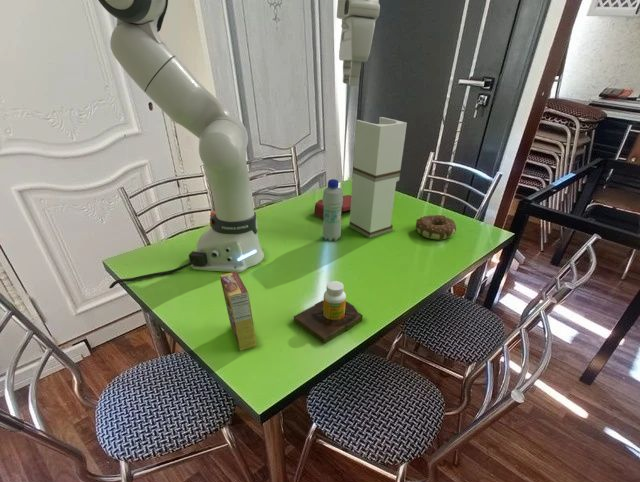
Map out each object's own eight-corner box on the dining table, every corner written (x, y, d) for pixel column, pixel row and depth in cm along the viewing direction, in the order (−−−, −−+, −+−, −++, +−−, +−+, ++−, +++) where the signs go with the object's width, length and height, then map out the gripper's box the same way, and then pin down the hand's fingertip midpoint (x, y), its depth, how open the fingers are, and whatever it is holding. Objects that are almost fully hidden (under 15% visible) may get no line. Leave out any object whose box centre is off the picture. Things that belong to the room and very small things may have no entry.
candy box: (229, 328, 88) (219, 274, 78) (247, 324, 89) (238, 270, 80) (238, 352, 81) (228, 295, 72) (257, 346, 83) (249, 291, 73)
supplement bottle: (328, 327, 88) (329, 293, 82) (319, 314, 92) (320, 282, 86) (348, 321, 90) (350, 288, 84) (338, 309, 94) (340, 277, 88)
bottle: (339, 243, 124) (342, 183, 111) (320, 241, 125) (320, 182, 112) (342, 235, 129) (345, 177, 116) (324, 233, 130) (324, 175, 117)
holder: (324, 344, 83) (324, 338, 82) (293, 321, 90) (292, 315, 89) (366, 319, 91) (366, 313, 90) (334, 299, 98) (334, 294, 96)
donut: (460, 232, 131) (464, 219, 128) (443, 245, 123) (447, 231, 120) (424, 221, 138) (427, 209, 135) (406, 233, 130) (408, 220, 127)
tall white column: (392, 230, 132) (407, 122, 110) (369, 238, 127) (380, 126, 105) (371, 220, 139) (381, 116, 117) (349, 226, 134) (355, 120, 113)
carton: (348, 206, 160) (310, 213, 143) (350, 194, 157) (311, 201, 140) (371, 213, 154) (333, 222, 137) (373, 201, 151) (335, 209, 134)
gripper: (336, 12, 87) (331, 81, 95) (350, 2, 71) (342, 86, 79) (362, 15, 88) (354, 83, 96) (382, 5, 72) (371, 88, 80)
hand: (349, 84), depth 87 cm, fingers open, 8 cm apart
